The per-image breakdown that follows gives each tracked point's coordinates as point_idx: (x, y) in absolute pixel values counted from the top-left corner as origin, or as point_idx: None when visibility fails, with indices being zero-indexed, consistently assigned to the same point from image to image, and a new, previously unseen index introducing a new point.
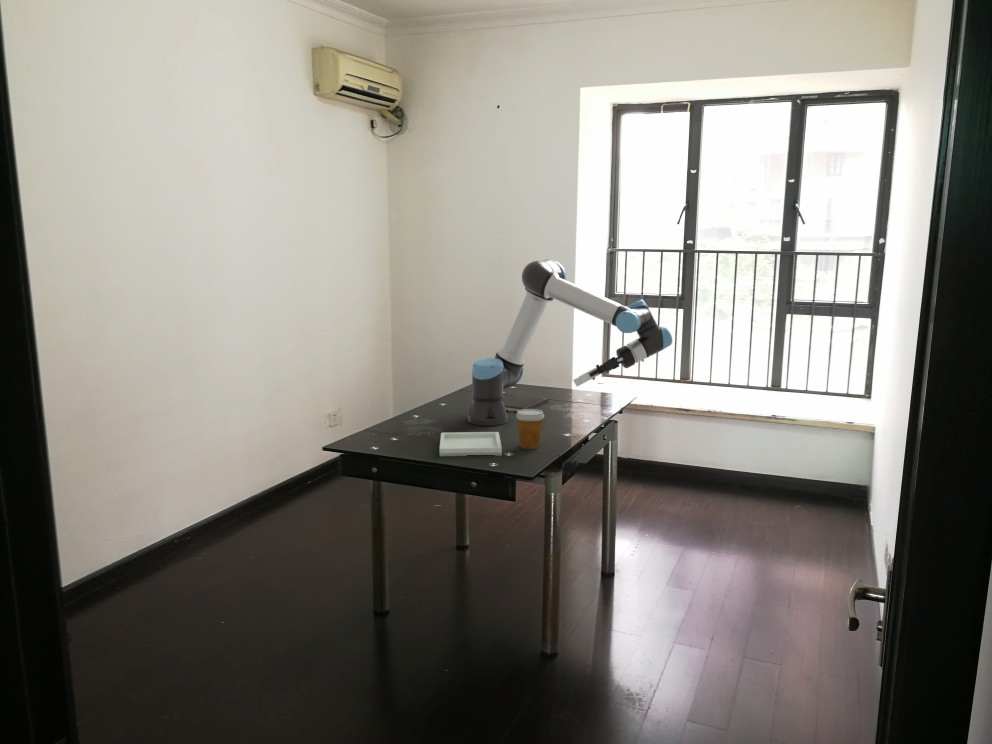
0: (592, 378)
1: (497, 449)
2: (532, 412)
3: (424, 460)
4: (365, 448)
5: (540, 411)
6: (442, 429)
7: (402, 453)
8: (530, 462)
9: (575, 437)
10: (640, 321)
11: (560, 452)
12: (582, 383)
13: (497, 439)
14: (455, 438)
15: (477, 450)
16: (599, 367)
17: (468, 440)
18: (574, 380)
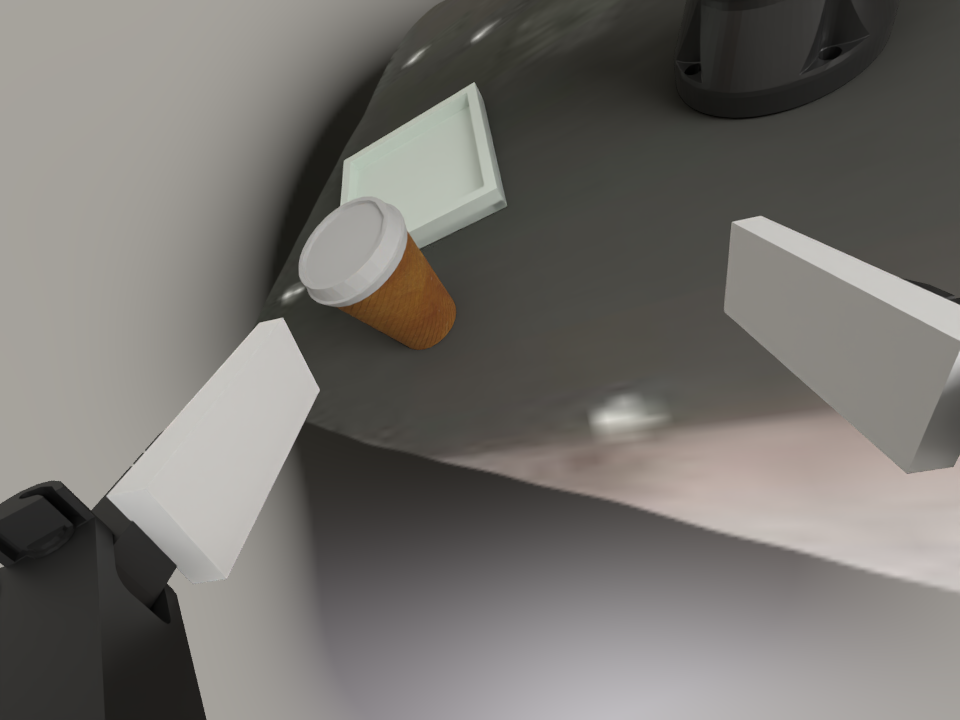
0: (900, 466)
1: None
2: (348, 249)
3: (334, 168)
4: (412, 49)
5: (357, 271)
6: (592, 38)
7: (379, 113)
8: None
9: (574, 465)
10: None
11: (364, 432)
12: (769, 347)
13: (411, 225)
14: (467, 125)
15: None
16: (28, 570)
17: (449, 159)
18: (732, 237)
